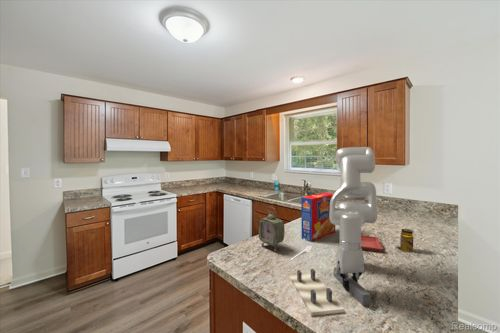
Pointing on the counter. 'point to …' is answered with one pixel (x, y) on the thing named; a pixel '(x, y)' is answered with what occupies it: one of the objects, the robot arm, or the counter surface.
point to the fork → (302, 252)
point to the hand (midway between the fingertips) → (350, 287)
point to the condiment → (406, 241)
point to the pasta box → (316, 217)
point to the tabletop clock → (271, 229)
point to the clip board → (315, 294)
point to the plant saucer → (371, 244)
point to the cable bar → (355, 289)
